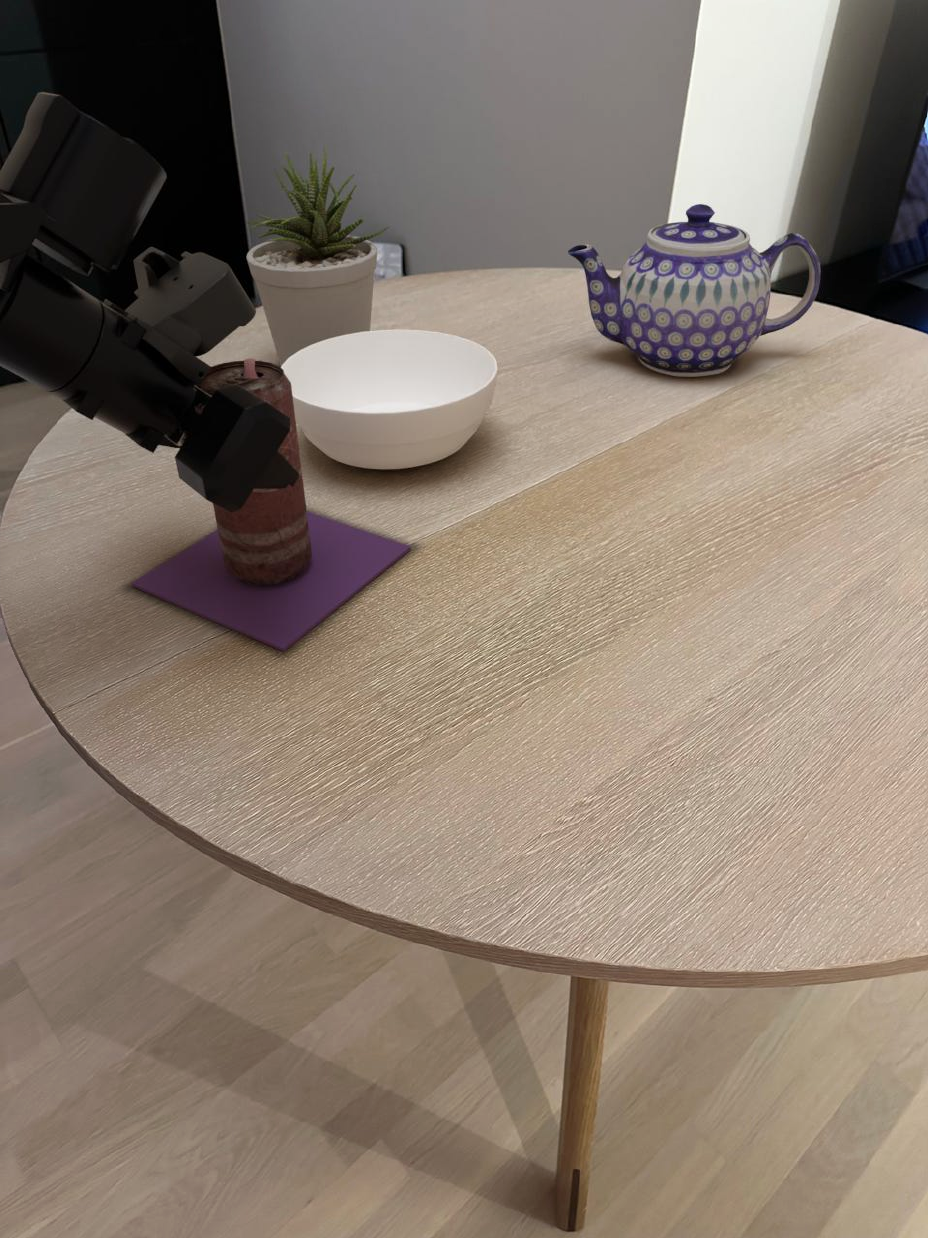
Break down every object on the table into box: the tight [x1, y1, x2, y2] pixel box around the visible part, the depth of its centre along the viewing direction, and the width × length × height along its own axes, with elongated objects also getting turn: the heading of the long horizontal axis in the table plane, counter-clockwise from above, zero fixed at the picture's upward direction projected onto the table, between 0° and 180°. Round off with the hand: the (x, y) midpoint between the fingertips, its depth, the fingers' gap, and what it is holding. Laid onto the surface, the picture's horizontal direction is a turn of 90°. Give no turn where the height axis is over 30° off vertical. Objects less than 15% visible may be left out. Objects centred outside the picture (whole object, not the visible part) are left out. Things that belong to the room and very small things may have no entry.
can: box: [195, 358, 312, 586], centre depth 62 cm, size 6×6×14 cm
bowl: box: [280, 328, 499, 470], centre depth 79 cm, size 18×18×7 cm
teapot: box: [567, 203, 821, 378], centre depth 92 cm, size 25×15×15 cm, turn 87°
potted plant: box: [245, 147, 389, 366], centre depth 91 cm, size 13×14×20 cm
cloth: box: [131, 510, 412, 653], centre depth 66 cm, size 14×14×1 cm
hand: (274, 466), depth 62 cm, fingers closed on can, 5 cm apart
